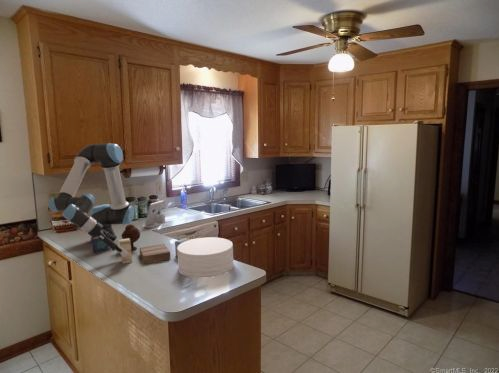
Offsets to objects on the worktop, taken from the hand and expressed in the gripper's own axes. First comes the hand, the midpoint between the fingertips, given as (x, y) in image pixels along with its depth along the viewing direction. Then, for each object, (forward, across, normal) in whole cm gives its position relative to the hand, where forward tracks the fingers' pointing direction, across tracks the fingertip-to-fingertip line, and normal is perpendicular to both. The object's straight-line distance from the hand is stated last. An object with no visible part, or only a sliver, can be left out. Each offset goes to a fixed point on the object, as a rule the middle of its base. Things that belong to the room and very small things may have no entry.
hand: (125, 250), depth 184 cm
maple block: (+5, -1, -4) cm, 6 cm away
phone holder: (+23, -74, +15) cm, 79 cm away
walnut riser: (+15, -1, +6) cm, 17 cm away
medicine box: (+26, +4, +17) cm, 31 cm away
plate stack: (+31, +27, +21) cm, 46 cm away
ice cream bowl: (+8, -21, -1) cm, 22 cm away
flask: (-4, -26, -13) cm, 29 cm away
